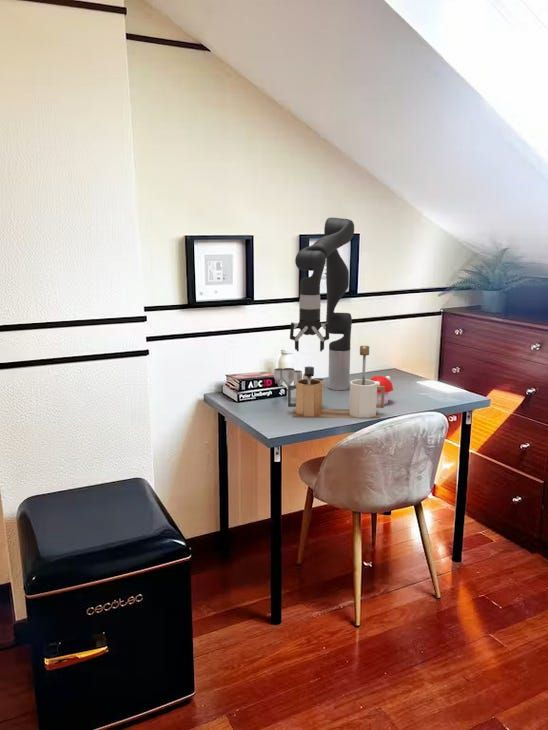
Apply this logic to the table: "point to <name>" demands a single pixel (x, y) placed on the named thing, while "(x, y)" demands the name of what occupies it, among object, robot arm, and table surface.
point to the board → (333, 414)
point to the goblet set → (291, 376)
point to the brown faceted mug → (307, 397)
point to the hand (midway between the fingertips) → (309, 351)
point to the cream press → (364, 398)
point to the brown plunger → (364, 360)
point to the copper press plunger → (309, 373)
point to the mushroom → (386, 383)
